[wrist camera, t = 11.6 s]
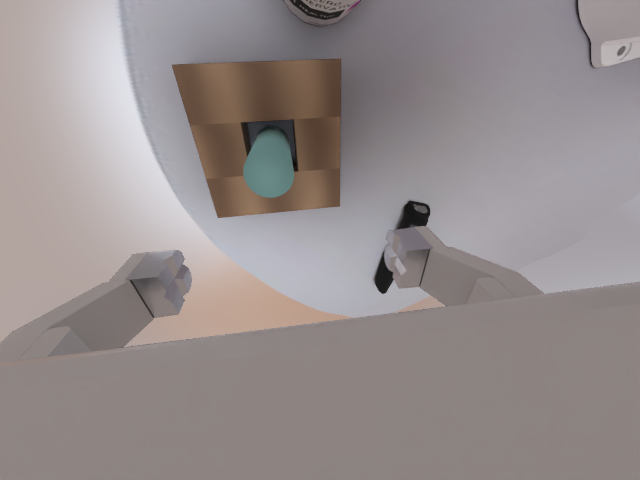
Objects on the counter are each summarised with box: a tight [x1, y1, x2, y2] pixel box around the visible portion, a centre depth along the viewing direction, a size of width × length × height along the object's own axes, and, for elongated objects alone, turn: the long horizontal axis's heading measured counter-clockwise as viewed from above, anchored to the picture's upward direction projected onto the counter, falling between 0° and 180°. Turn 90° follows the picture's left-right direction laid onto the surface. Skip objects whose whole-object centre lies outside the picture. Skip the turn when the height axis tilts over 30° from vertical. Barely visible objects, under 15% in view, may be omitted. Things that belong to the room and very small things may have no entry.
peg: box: [243, 125, 294, 198], centre depth 22 cm, size 4×4×12 cm
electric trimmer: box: [375, 201, 430, 294], centre depth 37 cm, size 4×16×3 cm, turn 165°
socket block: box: [172, 59, 341, 218], centre depth 26 cm, size 14×14×4 cm
